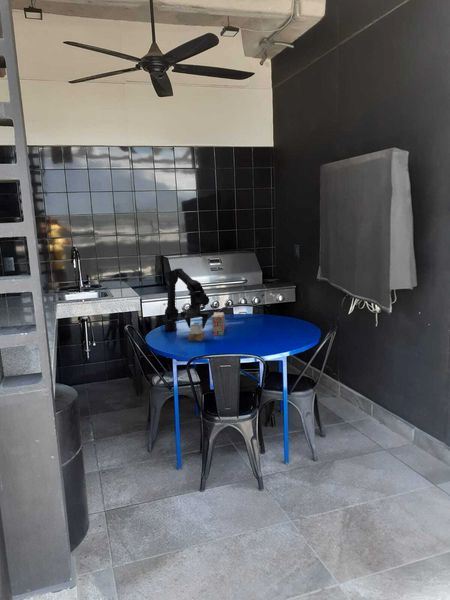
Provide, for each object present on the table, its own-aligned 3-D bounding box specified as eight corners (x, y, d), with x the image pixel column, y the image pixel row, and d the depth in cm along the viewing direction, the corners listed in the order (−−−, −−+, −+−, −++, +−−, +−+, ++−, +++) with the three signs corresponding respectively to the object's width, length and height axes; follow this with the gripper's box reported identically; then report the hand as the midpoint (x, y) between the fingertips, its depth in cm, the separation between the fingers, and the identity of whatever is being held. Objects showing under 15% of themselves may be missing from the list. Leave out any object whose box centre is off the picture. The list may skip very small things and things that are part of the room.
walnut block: (188, 341, 273) (188, 334, 272) (192, 337, 280) (191, 331, 280) (201, 341, 271) (201, 334, 270) (204, 337, 279) (204, 331, 278)
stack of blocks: (215, 327, 303) (215, 309, 301) (225, 327, 303) (224, 309, 301) (213, 335, 282) (212, 316, 280) (223, 335, 282) (222, 316, 280)
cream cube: (190, 333, 274) (190, 325, 273) (194, 331, 278) (194, 323, 277) (198, 334, 272) (197, 326, 271) (201, 332, 276) (201, 324, 275)
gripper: (175, 304, 268) (176, 330, 271) (203, 306, 261) (204, 333, 264) (184, 301, 278) (185, 326, 281) (211, 303, 271) (212, 328, 274)
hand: (196, 328), depth 274 cm, fingers open, 9 cm apart
